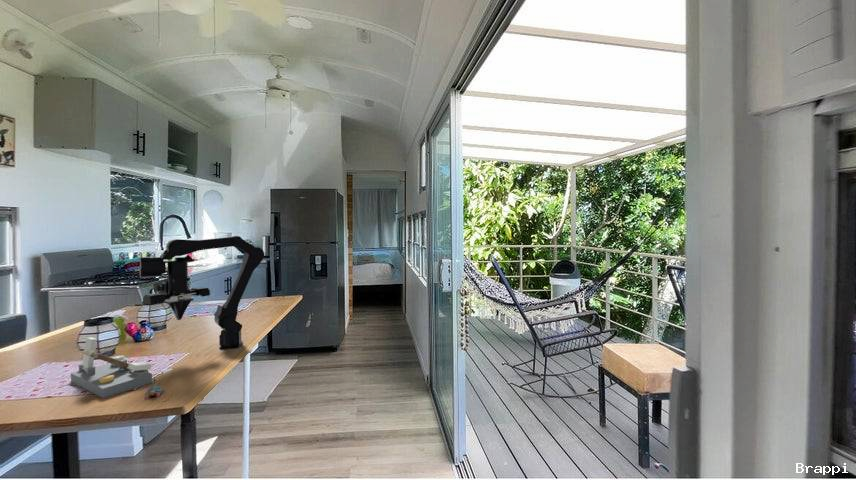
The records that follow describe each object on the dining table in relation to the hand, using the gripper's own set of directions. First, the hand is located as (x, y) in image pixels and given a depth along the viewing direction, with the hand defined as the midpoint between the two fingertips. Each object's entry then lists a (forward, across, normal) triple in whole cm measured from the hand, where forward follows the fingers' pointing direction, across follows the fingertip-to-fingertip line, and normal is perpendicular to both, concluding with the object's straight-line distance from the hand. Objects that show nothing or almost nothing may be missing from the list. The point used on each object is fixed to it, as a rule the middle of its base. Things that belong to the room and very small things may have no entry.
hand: (179, 319), depth 122 cm
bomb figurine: (+14, +19, +26) cm, 35 cm away
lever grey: (+10, +24, -2) cm, 26 cm away
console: (+13, +21, +5) cm, 25 cm away
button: (+10, +17, -2) cm, 20 cm away
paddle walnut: (+10, +17, +5) cm, 20 cm away
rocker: (+10, +17, +12) cm, 23 cm away
